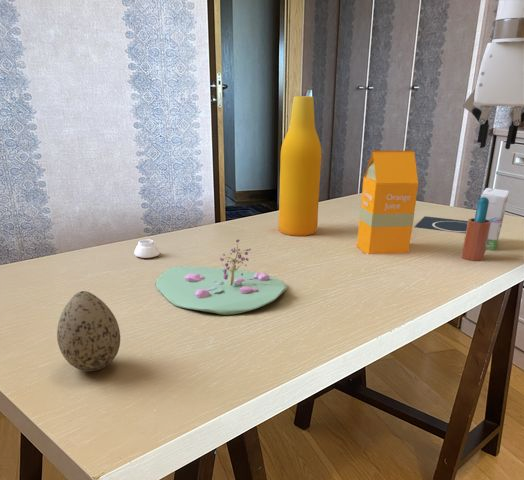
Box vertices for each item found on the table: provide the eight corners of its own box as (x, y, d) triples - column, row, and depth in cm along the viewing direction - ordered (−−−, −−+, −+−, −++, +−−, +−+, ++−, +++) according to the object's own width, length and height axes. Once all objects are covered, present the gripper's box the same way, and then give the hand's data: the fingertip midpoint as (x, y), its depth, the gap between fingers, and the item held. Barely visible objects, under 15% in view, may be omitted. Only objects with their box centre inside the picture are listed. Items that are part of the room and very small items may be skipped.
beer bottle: (270, 231, 126) (273, 95, 113) (294, 224, 132) (300, 95, 119) (300, 238, 120) (307, 97, 107) (324, 231, 126) (334, 96, 113)
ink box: (494, 252, 112) (507, 196, 107) (470, 249, 114) (481, 193, 109) (498, 243, 119) (510, 189, 114) (475, 240, 121) (485, 187, 116)
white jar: (145, 250, 110) (129, 256, 106) (144, 236, 109) (128, 242, 105) (164, 254, 108) (149, 260, 104) (163, 240, 106) (148, 246, 103)
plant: (118, 293, 88) (112, 239, 84) (193, 261, 104) (191, 215, 100) (246, 326, 77) (246, 266, 73) (308, 285, 93) (311, 234, 89)
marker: (478, 257, 107) (490, 196, 102) (476, 259, 106) (489, 198, 100) (467, 255, 108) (479, 195, 103) (466, 258, 107) (478, 197, 101)
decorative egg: (57, 362, 66) (43, 287, 62) (114, 350, 69) (104, 277, 65) (70, 388, 61) (56, 308, 56) (131, 373, 64) (122, 296, 59)
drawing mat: (496, 225, 134) (497, 223, 134) (490, 240, 121) (491, 238, 121) (424, 217, 141) (424, 215, 141) (411, 230, 128) (411, 228, 128)
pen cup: (483, 258, 108) (492, 219, 105) (481, 264, 105) (490, 224, 101) (462, 256, 110) (469, 217, 106) (459, 261, 106) (467, 221, 103)
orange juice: (408, 255, 110) (423, 152, 101) (368, 256, 109) (379, 153, 100) (394, 244, 117) (407, 148, 108) (356, 245, 115) (365, 148, 106)
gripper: (570, 33, 90) (544, 148, 98) (468, 36, 96) (451, 143, 105) (572, 30, 84) (544, 152, 92) (462, 33, 90) (445, 147, 99)
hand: (495, 146), depth 98 cm, fingers open, 3 cm apart
